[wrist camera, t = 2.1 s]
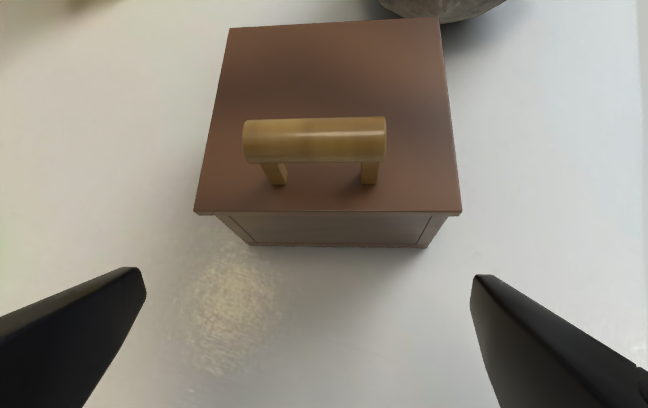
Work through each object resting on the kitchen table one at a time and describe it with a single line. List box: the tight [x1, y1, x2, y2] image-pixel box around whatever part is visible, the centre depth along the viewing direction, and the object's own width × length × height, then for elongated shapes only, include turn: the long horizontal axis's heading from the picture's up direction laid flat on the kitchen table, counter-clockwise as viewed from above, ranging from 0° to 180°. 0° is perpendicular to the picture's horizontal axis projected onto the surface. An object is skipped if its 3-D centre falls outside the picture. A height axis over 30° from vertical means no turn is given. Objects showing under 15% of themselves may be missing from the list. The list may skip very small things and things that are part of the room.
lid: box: [193, 16, 462, 216], centre depth 15 cm, size 11×12×4 cm
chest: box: [215, 215, 448, 248], centre depth 21 cm, size 11×12×7 cm
